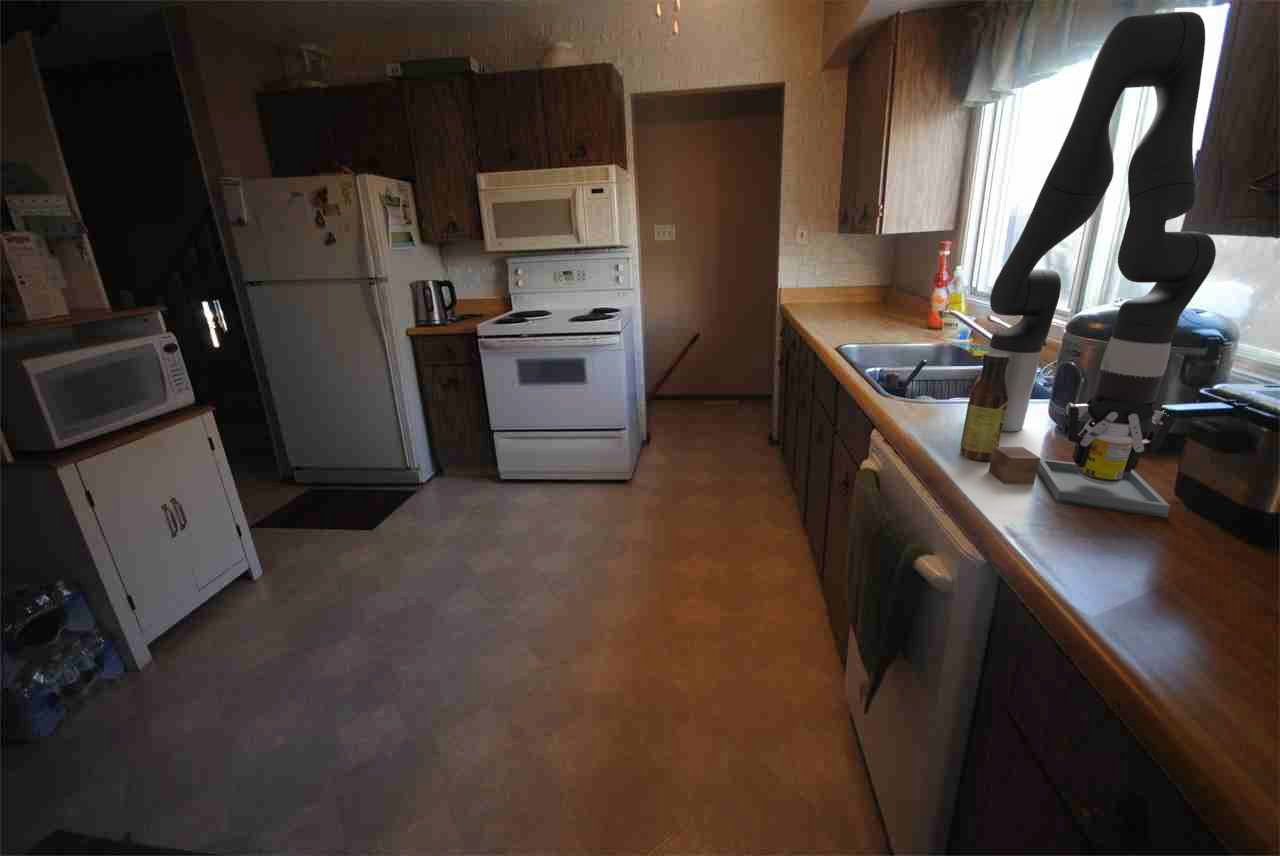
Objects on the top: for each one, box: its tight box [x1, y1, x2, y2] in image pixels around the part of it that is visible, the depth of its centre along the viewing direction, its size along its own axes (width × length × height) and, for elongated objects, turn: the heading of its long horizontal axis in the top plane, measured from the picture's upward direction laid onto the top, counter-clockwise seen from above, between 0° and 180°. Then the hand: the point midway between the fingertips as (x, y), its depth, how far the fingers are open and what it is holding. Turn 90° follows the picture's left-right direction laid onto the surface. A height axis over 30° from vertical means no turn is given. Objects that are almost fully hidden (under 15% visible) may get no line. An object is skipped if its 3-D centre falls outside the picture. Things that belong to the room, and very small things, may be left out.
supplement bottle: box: [1079, 423, 1134, 485], centre depth 91 cm, size 6×6×10 cm
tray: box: [1037, 458, 1171, 519], centre depth 93 cm, size 14×14×2 cm
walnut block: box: [987, 446, 1042, 485], centre depth 98 cm, size 5×5×5 cm
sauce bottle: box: [960, 352, 1010, 462], centre depth 104 cm, size 6×6×20 cm
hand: (1101, 467), depth 92 cm, fingers closed on supplement bottle, 5 cm apart
